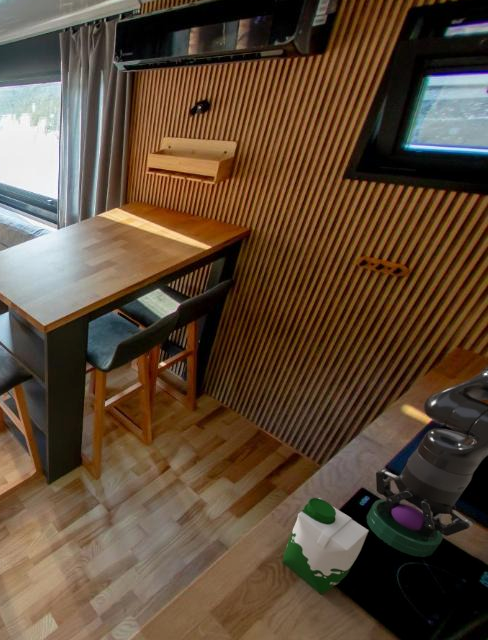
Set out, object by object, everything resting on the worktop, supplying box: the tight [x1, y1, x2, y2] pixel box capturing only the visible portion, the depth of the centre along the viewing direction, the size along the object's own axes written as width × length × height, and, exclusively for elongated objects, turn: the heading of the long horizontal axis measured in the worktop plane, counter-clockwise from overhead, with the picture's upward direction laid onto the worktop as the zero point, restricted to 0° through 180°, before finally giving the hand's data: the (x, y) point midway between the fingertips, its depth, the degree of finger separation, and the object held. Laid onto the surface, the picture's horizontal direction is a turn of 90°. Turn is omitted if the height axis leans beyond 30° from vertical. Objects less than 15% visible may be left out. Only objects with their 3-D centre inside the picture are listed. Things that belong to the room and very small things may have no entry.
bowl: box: [366, 498, 444, 558], centre depth 82 cm, size 10×10×6 cm
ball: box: [392, 503, 426, 530], centre depth 81 cm, size 5×5×5 cm
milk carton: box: [281, 497, 369, 595], centre depth 76 cm, size 9×9×20 cm
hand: (405, 522), depth 82 cm, fingers closed on ball, 4 cm apart
